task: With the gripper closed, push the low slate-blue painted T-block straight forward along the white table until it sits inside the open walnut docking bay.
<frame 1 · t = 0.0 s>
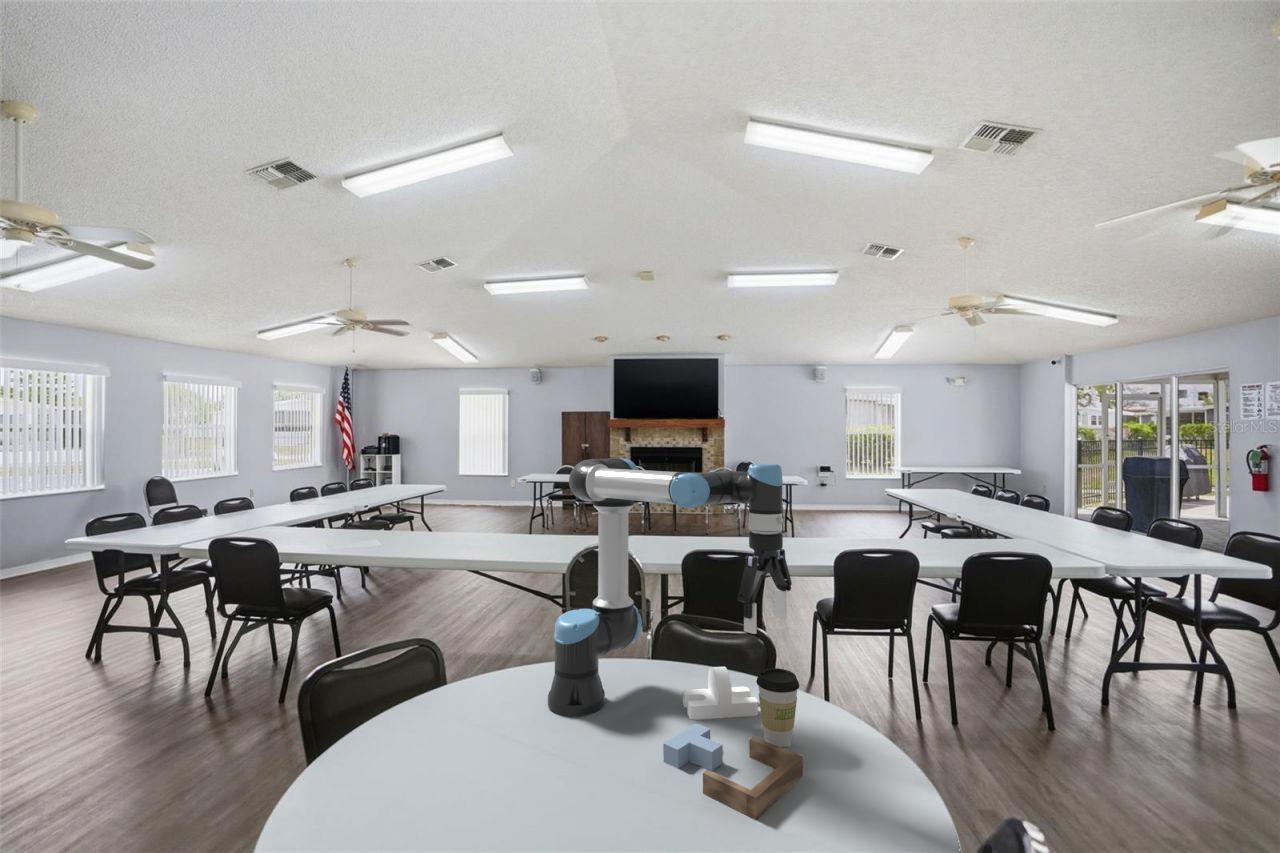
hand: (765, 625, 132), 28 cm above the table, fingers open, 13 cm apart
walnut dock: (758, 786, 117), on the table
white slotted block: (719, 710, 151), on the table
t block: (687, 754, 129), on the table
coffee cup: (777, 740, 135), on the table
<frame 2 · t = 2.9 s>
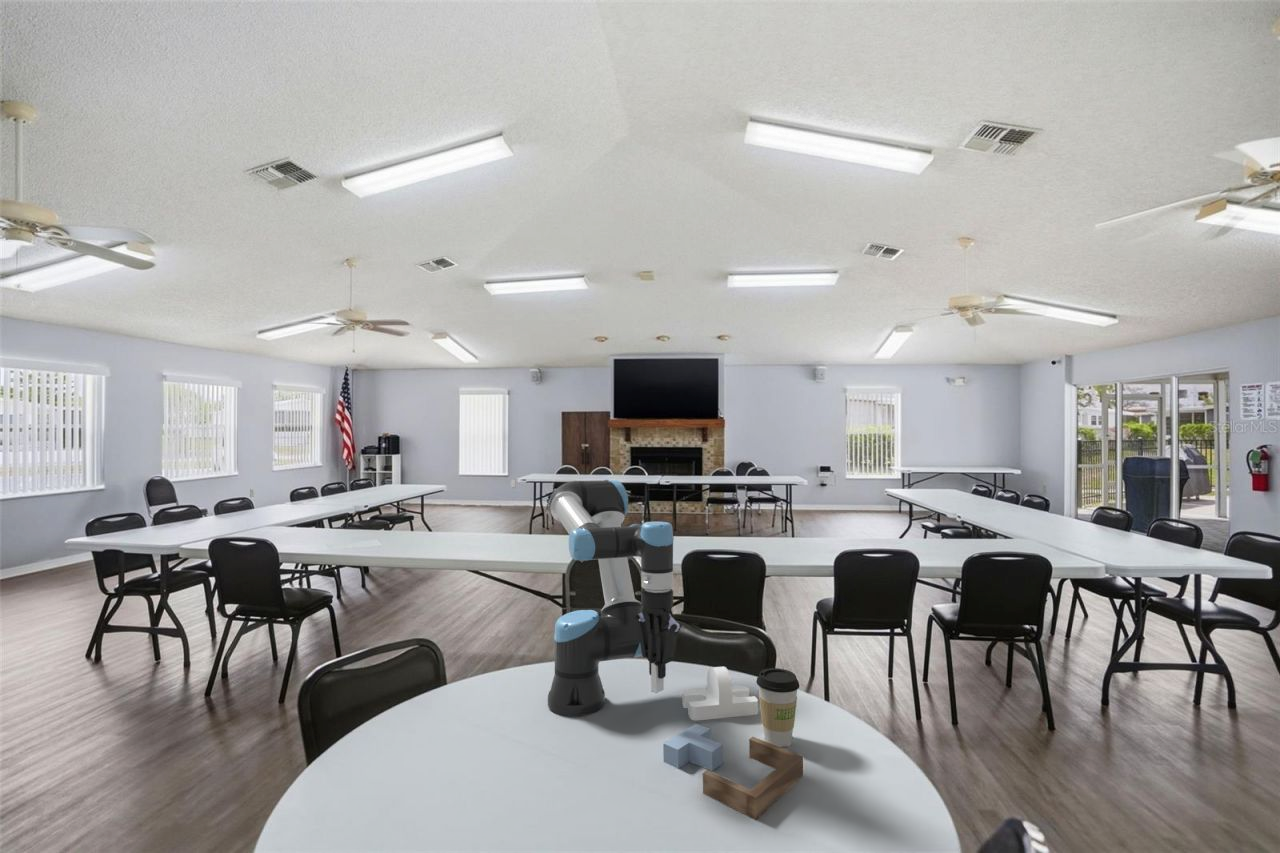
hand: (657, 690, 135), 12 cm above the table, fingers closed
nothing on the table moved.
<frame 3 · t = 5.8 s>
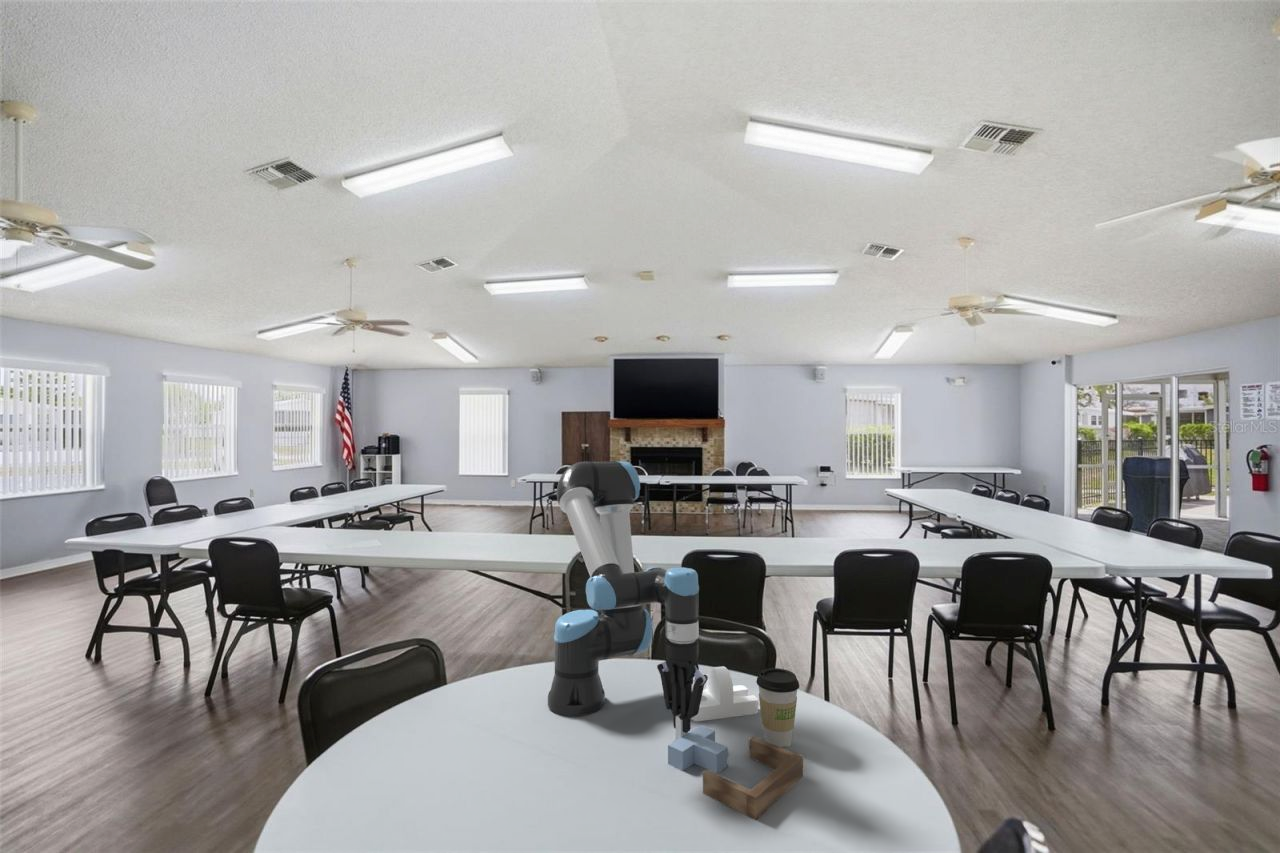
hand: (681, 744, 130), 2 cm above the table, fingers closed
t block: (692, 755, 128), on the table, touching gripper
everything else where it was.
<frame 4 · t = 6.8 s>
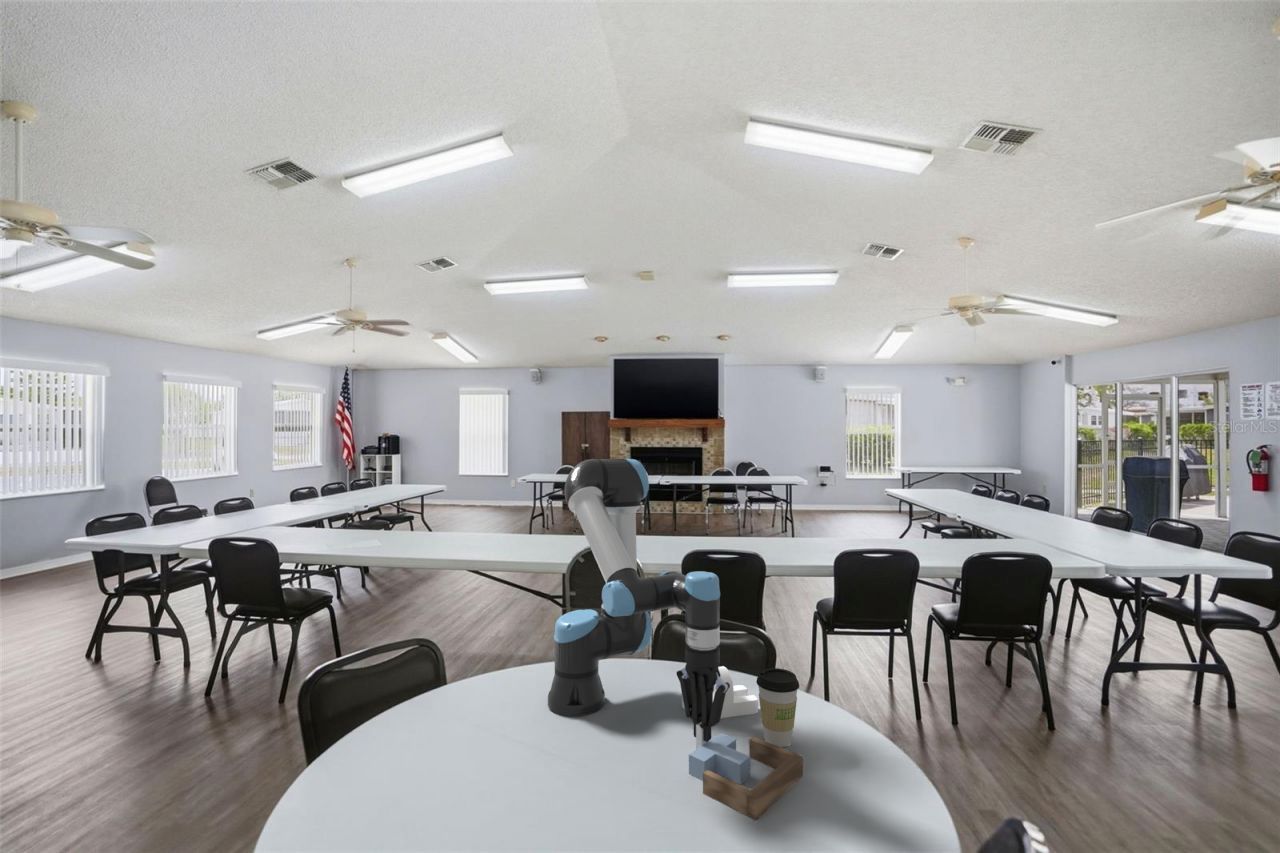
hand: (702, 753, 126), 2 cm above the table, fingers closed
t block: (713, 765, 125), on the table, touching gripper
everything else where it was.
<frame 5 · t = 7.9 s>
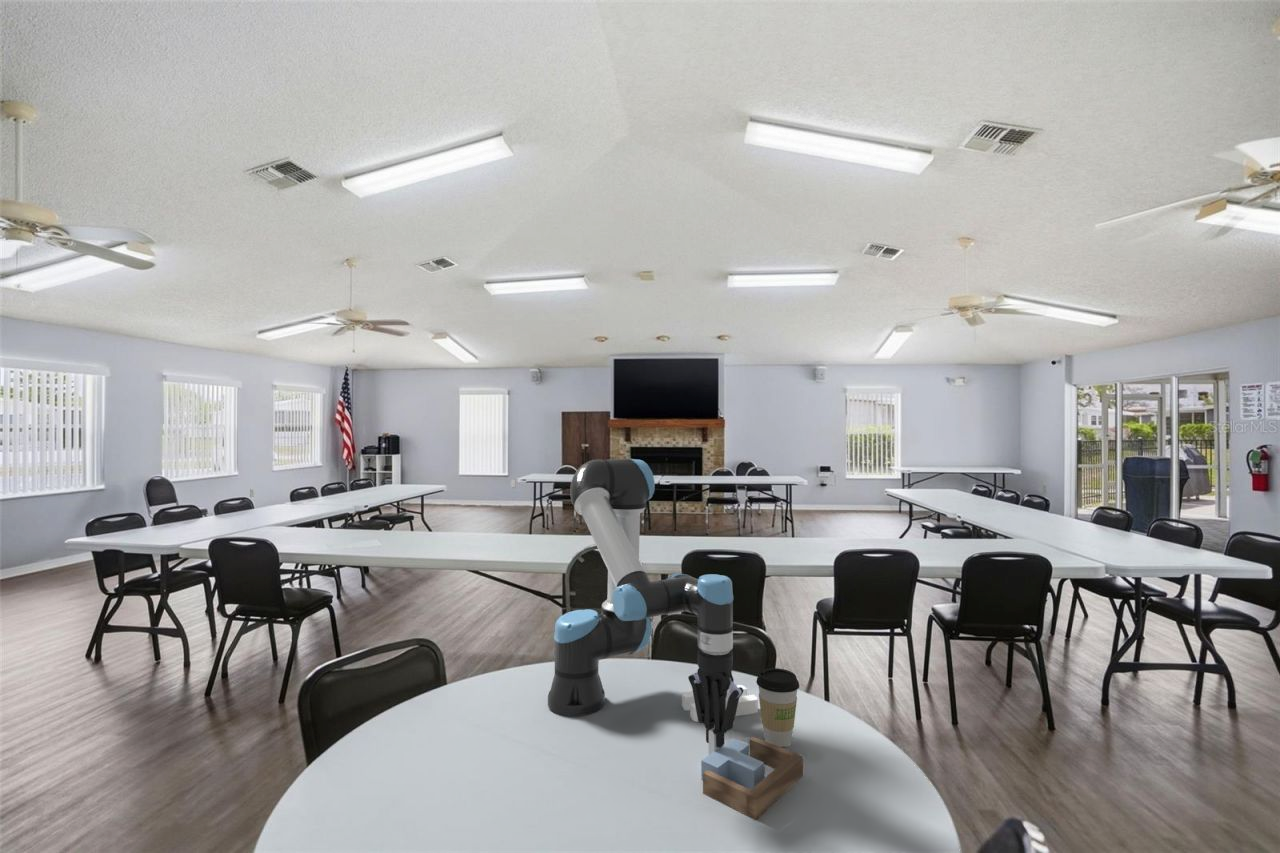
hand: (715, 759, 124), 1 cm above the table, fingers closed
t block: (725, 771, 122), on the table, touching gripper
everything else where it was.
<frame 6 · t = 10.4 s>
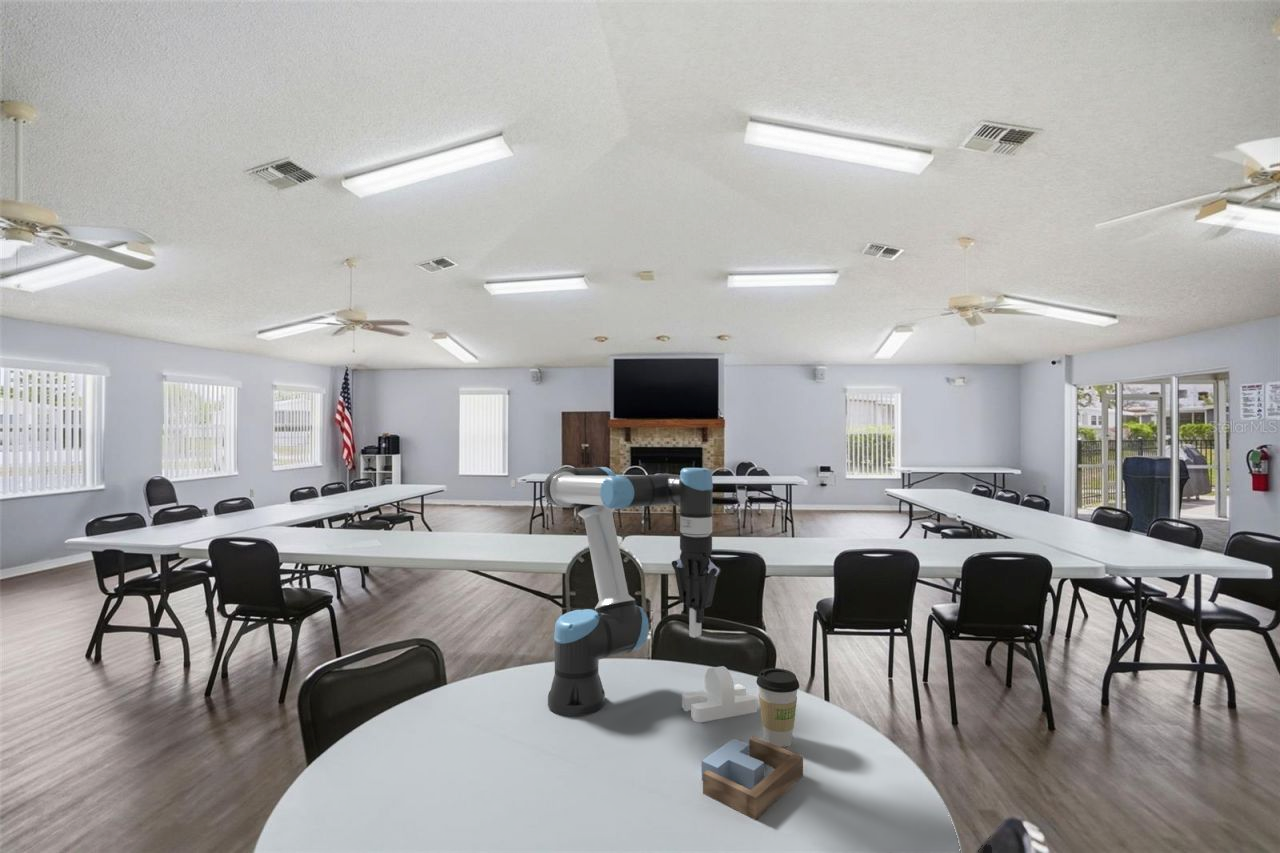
hand: (695, 635, 135), 24 cm above the table, fingers closed
t block: (726, 771, 122), on the table
everything else where it was.
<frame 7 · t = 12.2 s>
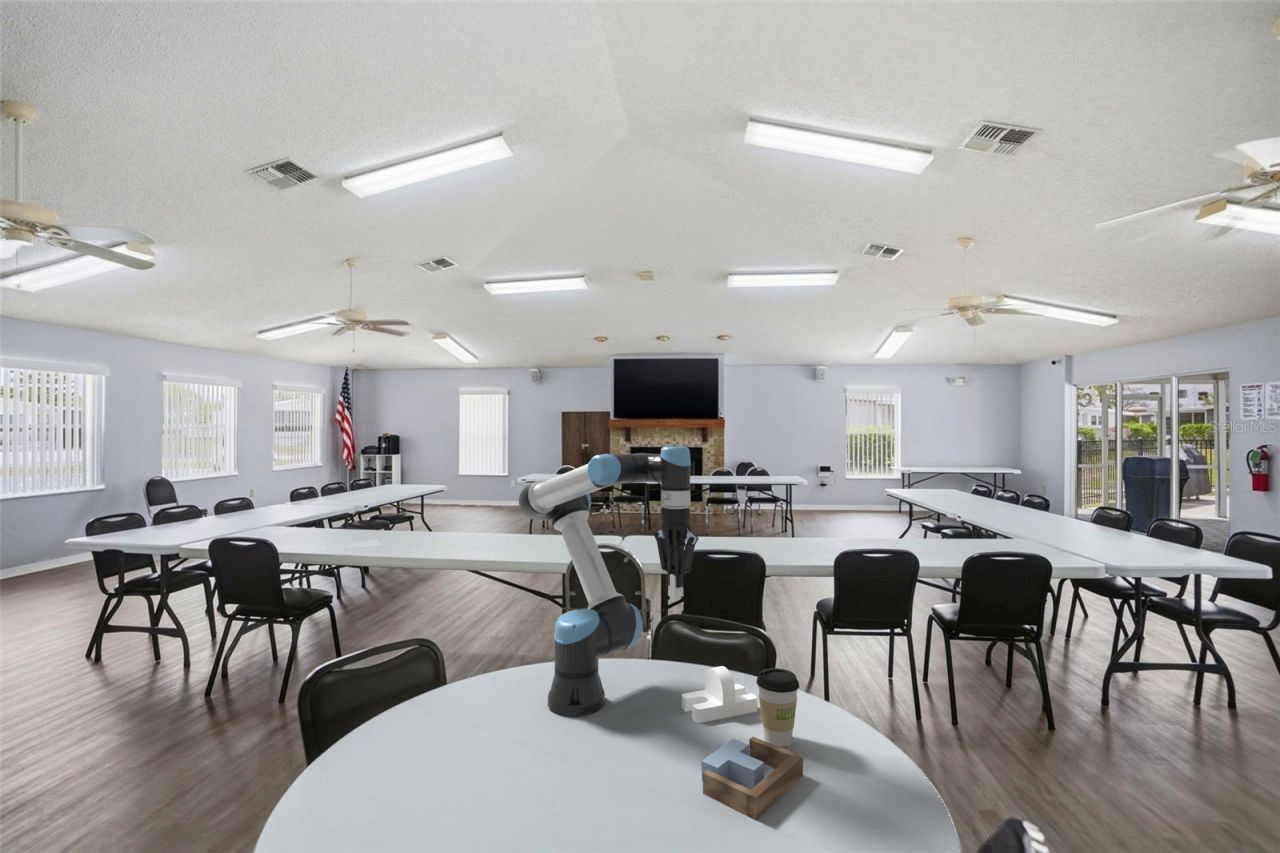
hand: (675, 599, 147), 29 cm above the table, fingers closed
at the end: t block inside the target area on the walnut dock (1.5 cm from its centre), point 0.0 cm above the walnut dock's base; t block tilted 1°; t block moved 10.2 cm from its start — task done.
